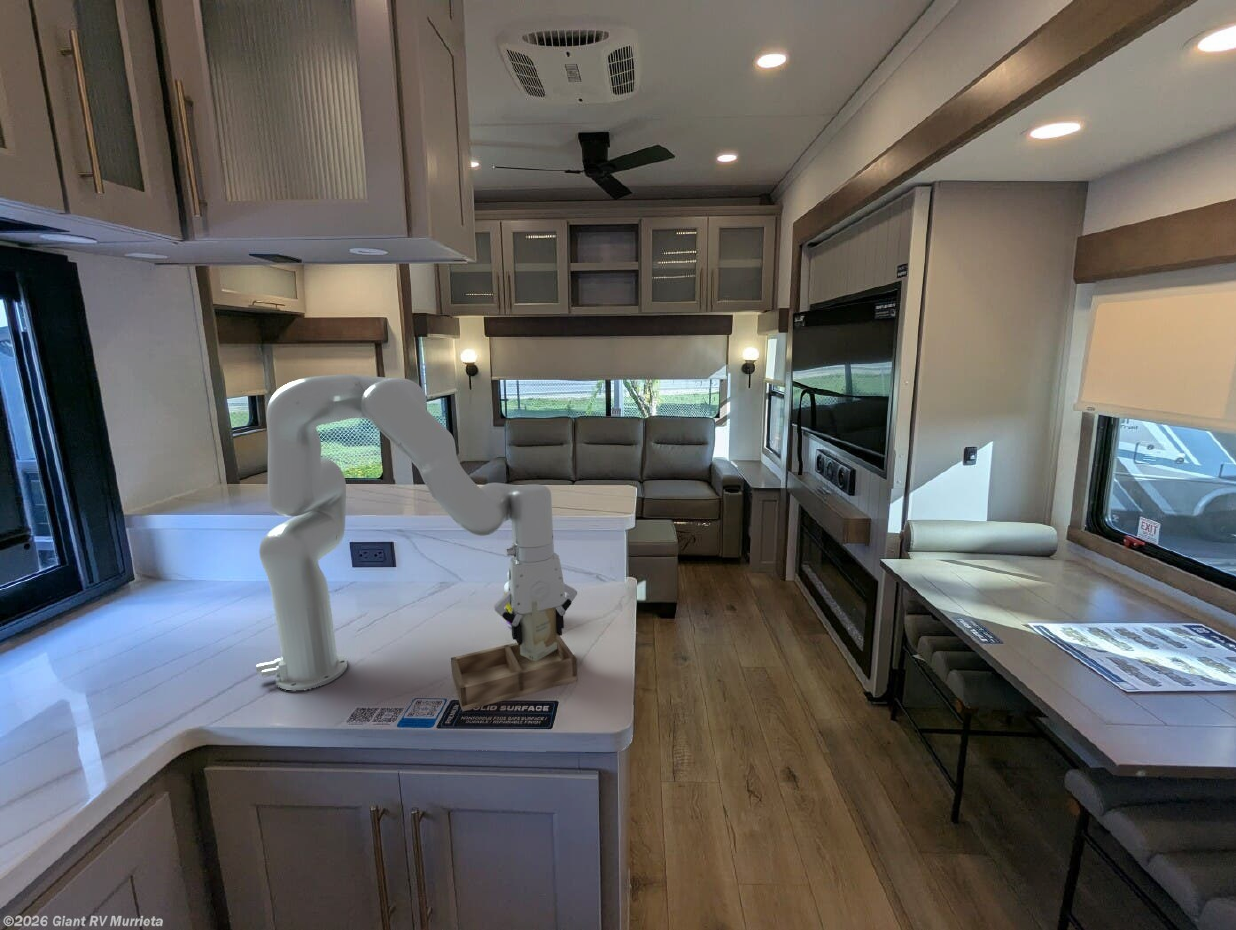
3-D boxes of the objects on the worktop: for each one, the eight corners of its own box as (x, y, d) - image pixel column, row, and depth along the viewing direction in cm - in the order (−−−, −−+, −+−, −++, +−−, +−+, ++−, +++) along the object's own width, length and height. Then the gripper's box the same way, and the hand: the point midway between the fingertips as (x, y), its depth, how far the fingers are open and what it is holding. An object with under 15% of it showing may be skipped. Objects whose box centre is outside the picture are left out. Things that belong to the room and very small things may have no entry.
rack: (462, 711, 100) (460, 688, 99) (452, 678, 110) (450, 657, 110) (577, 680, 109) (576, 659, 108) (558, 652, 119) (557, 633, 118)
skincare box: (535, 662, 107) (532, 602, 105) (519, 655, 110) (516, 596, 107) (559, 648, 112) (556, 590, 110) (543, 641, 115) (540, 585, 112)
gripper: (491, 565, 100) (498, 656, 103) (584, 549, 107) (587, 635, 110) (483, 551, 107) (489, 638, 110) (570, 537, 114) (574, 619, 117)
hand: (538, 636), depth 110 cm, fingers closed on skincare box, 7 cm apart
